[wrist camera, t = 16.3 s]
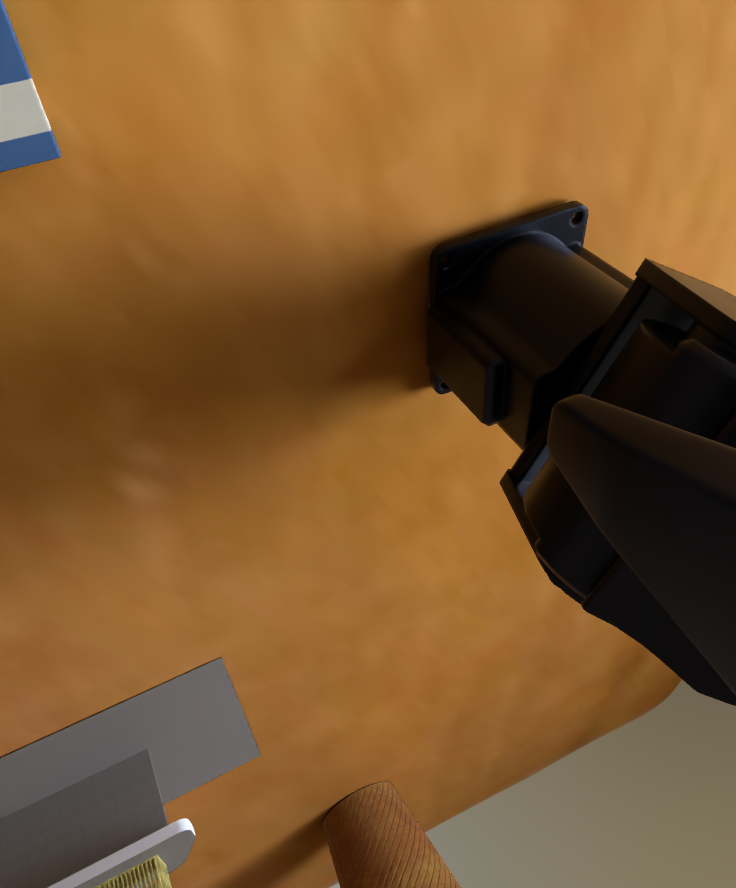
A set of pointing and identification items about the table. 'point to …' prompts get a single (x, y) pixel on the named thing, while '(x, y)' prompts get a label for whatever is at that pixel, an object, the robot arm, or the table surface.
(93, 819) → the platform
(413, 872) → the disposable coffee cup
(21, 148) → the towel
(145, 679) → the table surface
